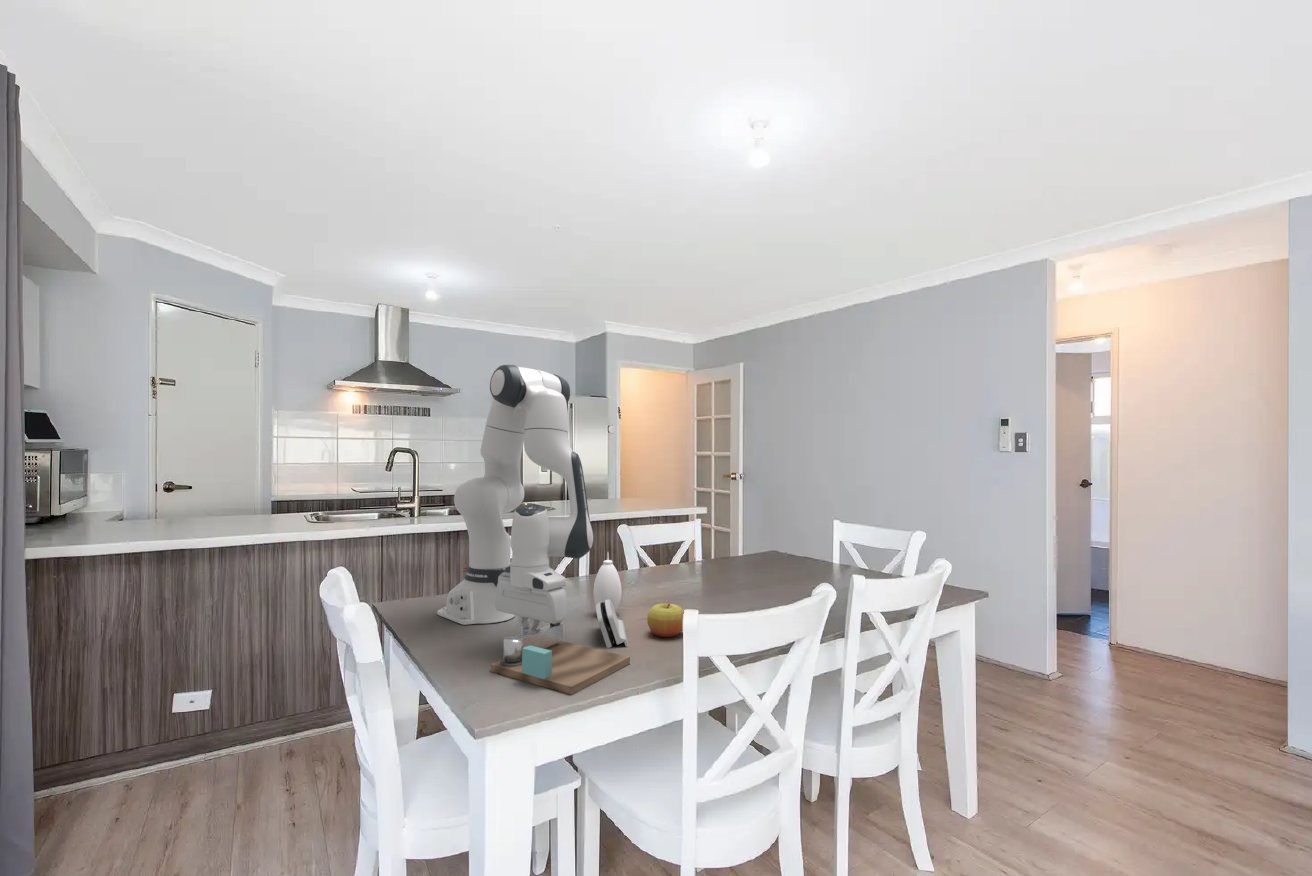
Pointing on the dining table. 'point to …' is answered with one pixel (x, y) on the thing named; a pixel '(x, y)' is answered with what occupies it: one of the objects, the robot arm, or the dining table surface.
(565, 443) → the robot arm
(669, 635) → the apple
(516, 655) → the lock bar
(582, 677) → the wooden cutting board
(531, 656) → the block
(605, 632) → the white slotted block
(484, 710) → the dining table surface
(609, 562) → the white tall oval piece
